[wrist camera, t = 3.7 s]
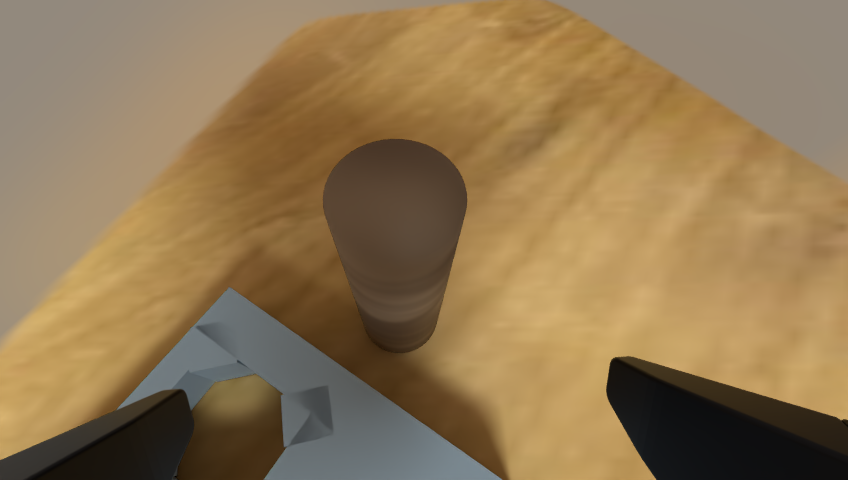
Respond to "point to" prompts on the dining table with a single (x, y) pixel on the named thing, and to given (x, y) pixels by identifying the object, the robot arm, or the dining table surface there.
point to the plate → (308, 402)
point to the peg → (396, 235)
